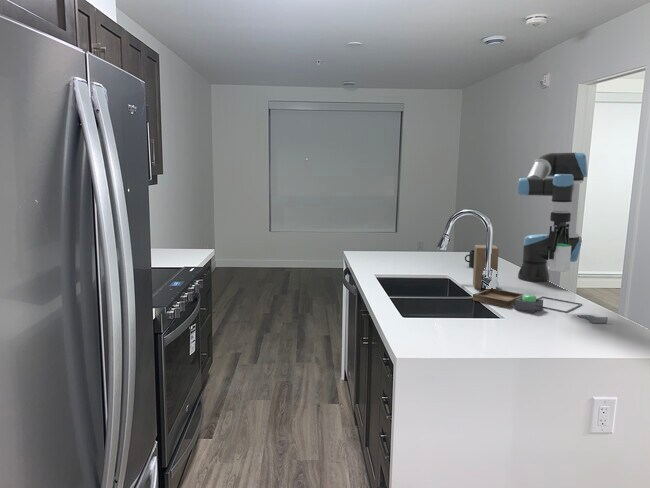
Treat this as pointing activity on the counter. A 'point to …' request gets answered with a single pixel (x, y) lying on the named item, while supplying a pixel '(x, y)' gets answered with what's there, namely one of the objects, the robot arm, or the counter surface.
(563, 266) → the mug
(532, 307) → the control box
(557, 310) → the tote frame
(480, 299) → the wooden tray
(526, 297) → the button
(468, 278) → the counter surface
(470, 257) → the mug
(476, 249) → the wooden block
